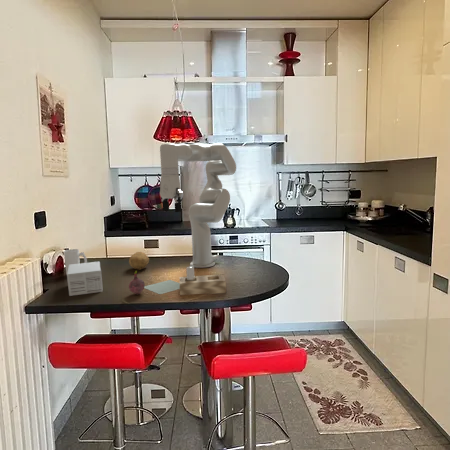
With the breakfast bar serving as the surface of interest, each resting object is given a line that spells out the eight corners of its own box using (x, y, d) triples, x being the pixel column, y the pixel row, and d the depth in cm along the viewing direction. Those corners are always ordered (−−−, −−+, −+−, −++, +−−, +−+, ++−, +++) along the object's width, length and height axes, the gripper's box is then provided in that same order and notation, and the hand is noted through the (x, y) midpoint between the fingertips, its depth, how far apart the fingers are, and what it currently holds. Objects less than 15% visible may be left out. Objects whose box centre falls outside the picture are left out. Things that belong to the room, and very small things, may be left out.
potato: (127, 273, 183) (126, 257, 182) (131, 266, 197) (130, 251, 196) (148, 272, 184) (147, 256, 183) (150, 265, 198) (149, 250, 197)
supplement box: (70, 285, 168) (68, 264, 166) (101, 281, 172) (100, 261, 171) (68, 296, 152) (66, 273, 150) (103, 291, 156) (101, 269, 155)
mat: (170, 280, 168) (170, 279, 168) (188, 287, 158) (188, 286, 158) (141, 287, 159) (141, 287, 159) (159, 295, 149) (159, 294, 149)
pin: (192, 289, 154) (190, 265, 153) (196, 291, 152) (195, 267, 151) (186, 291, 152) (184, 267, 151) (190, 293, 150) (189, 268, 149)
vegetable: (127, 298, 147) (125, 272, 145) (131, 292, 153) (129, 268, 152) (143, 297, 147) (141, 272, 145) (146, 292, 153) (145, 268, 152)
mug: (64, 277, 180) (61, 252, 178) (68, 273, 186) (65, 249, 185) (86, 275, 181) (84, 251, 179) (89, 272, 188) (87, 248, 186)
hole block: (223, 285, 158) (223, 274, 157) (226, 292, 149) (225, 280, 148) (180, 288, 156) (179, 277, 155) (180, 296, 147) (179, 283, 146)
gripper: (152, 173, 171) (154, 210, 173) (173, 172, 158) (176, 213, 160) (166, 172, 176) (168, 209, 178) (188, 171, 163) (190, 211, 165)
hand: (172, 211), depth 169 cm, fingers open, 9 cm apart
